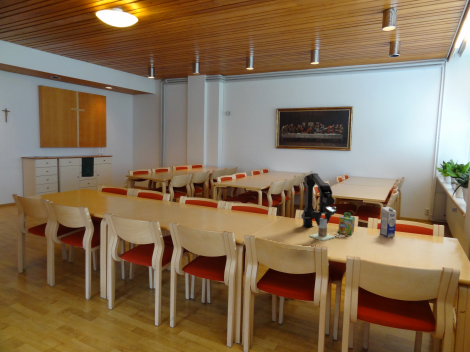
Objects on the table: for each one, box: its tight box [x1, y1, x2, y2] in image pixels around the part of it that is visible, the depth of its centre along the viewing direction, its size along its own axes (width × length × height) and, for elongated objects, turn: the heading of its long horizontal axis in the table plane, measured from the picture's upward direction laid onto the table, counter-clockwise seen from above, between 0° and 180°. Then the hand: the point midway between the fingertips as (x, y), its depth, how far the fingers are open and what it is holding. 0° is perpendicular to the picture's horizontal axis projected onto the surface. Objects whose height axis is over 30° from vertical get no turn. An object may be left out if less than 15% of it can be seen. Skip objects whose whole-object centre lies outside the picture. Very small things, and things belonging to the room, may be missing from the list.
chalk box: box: [337, 212, 356, 236], centre depth 238 cm, size 9×9×15 cm
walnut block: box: [317, 227, 328, 237], centre depth 227 cm, size 4×4×6 cm
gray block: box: [317, 217, 328, 229], centre depth 226 cm, size 4×4×6 cm
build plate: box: [309, 232, 336, 242], centre depth 228 cm, size 12×12×1 cm
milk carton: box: [379, 206, 397, 238], centre depth 231 cm, size 7×7×20 cm
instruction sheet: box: [333, 233, 346, 239], centre depth 232 cm, size 10×7×1 cm
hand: (322, 224), depth 226 cm, fingers open, 9 cm apart
